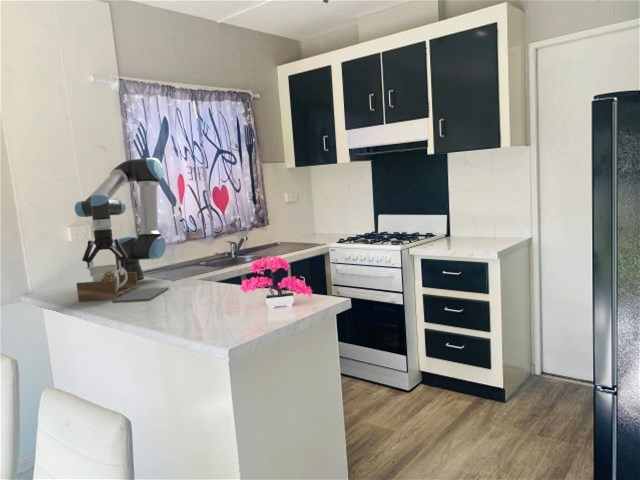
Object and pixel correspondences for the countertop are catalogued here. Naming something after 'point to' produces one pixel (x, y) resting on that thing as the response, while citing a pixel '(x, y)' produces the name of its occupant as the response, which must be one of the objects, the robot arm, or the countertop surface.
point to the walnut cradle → (106, 288)
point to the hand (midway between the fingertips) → (107, 275)
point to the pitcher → (107, 274)
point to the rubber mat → (141, 295)
